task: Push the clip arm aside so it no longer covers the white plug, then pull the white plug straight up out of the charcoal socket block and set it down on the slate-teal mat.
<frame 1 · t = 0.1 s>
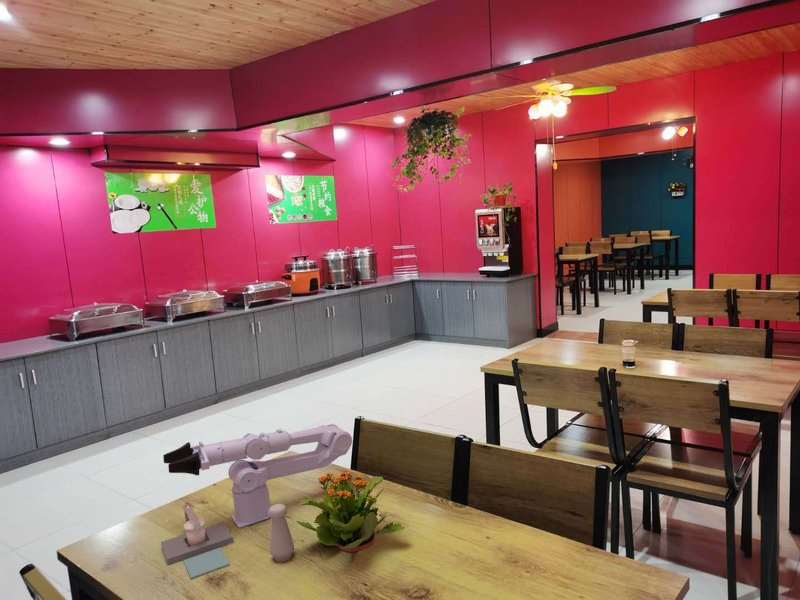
hand: (166, 463, 148), 22 cm above the table, tool horizontal, fingers open, 7 cm apart
clip post: (191, 532, 155), on the table
plug: (197, 545, 149), resting in socket block
salt shaker: (283, 557, 139), on the table
clip: (192, 515, 150), point 7 cm above the table, hinge at 0.0°
socket block: (197, 544, 149), on the table
potted flower: (356, 544, 143), on the table
mat: (206, 563, 140), on the table
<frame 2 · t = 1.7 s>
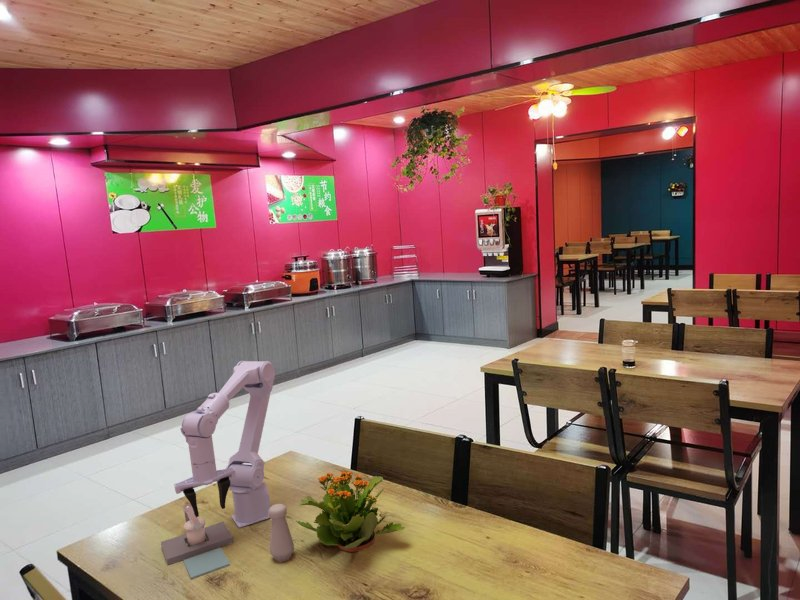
hand: (209, 511, 146), 9 cm above the table, tool pointing down, fingers open, 6 cm apart
nothing on the table moved.
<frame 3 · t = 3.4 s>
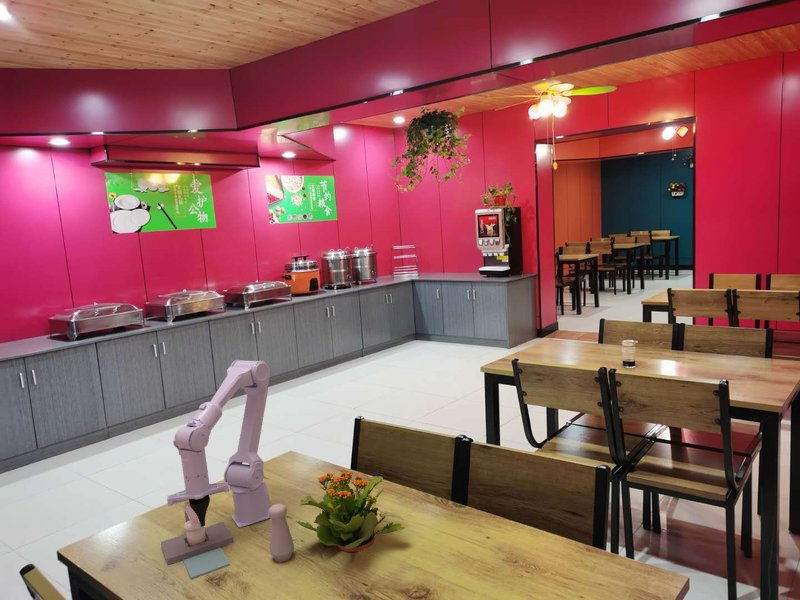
hand: (202, 524, 146), 6 cm above the table, tool pointing down, fingers closed
clip: (191, 515, 150), point 7 cm above the table, hinge at -0.7°, touching gripper
everything else where it was.
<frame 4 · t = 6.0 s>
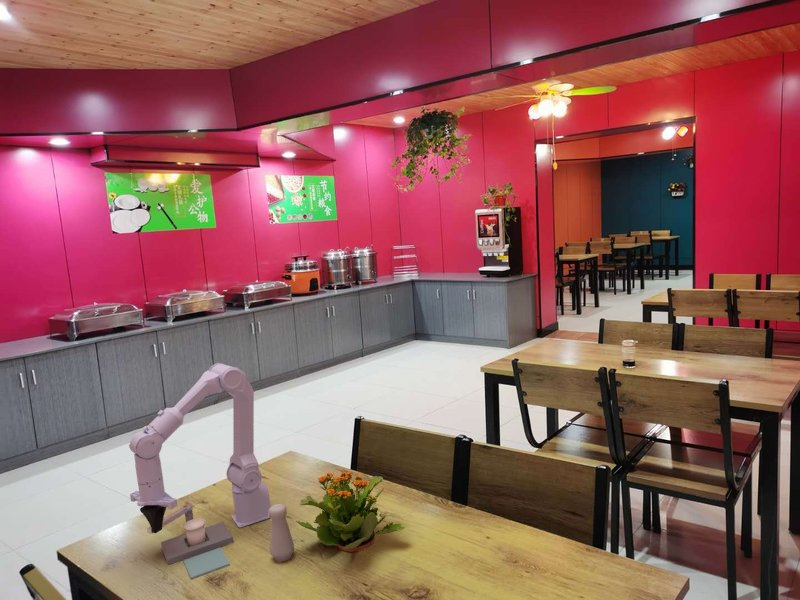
hand: (157, 531, 144), 6 cm above the table, tool pointing down, fingers closed
clip: (171, 517, 150), point 7 cm above the table, hinge at -57.2°, touching gripper
everything else where it was.
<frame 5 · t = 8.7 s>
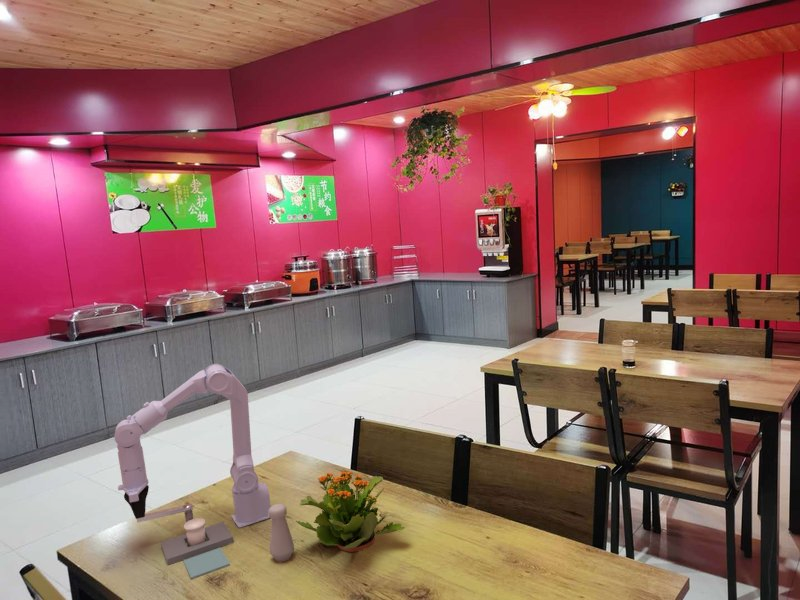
hand: (140, 516, 149), 8 cm above the table, tool pointing down, fingers closed
clip: (165, 512, 153), point 7 cm above the table, hinge at -101.0°
everything else where it was.
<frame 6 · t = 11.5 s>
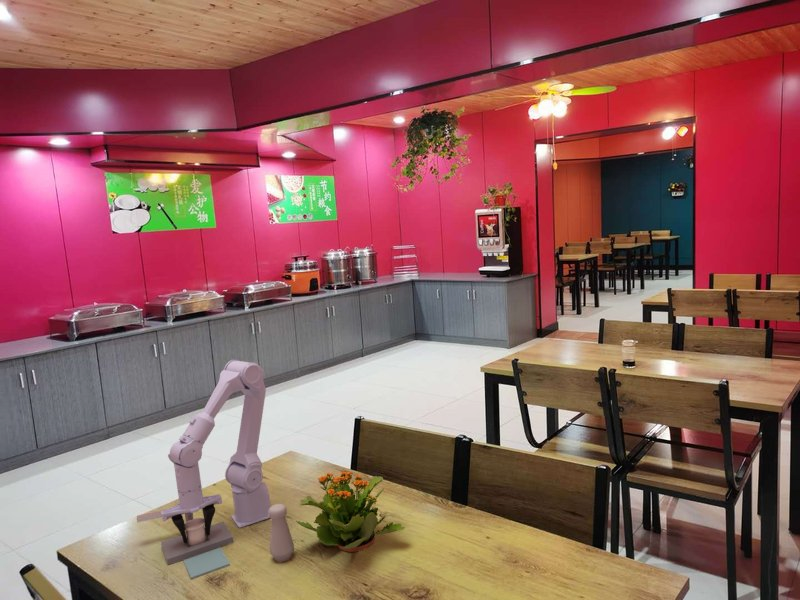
hand: (196, 537, 148), 2 cm above the table, tool pointing down, fingers closed on plug, 5 cm apart
plug: (197, 545, 149), resting in socket block, touching gripper
everything else where it was.
when the fingers open (3 cm above the table, at t = 15.5 s): plug stays where it is, resting on mat.
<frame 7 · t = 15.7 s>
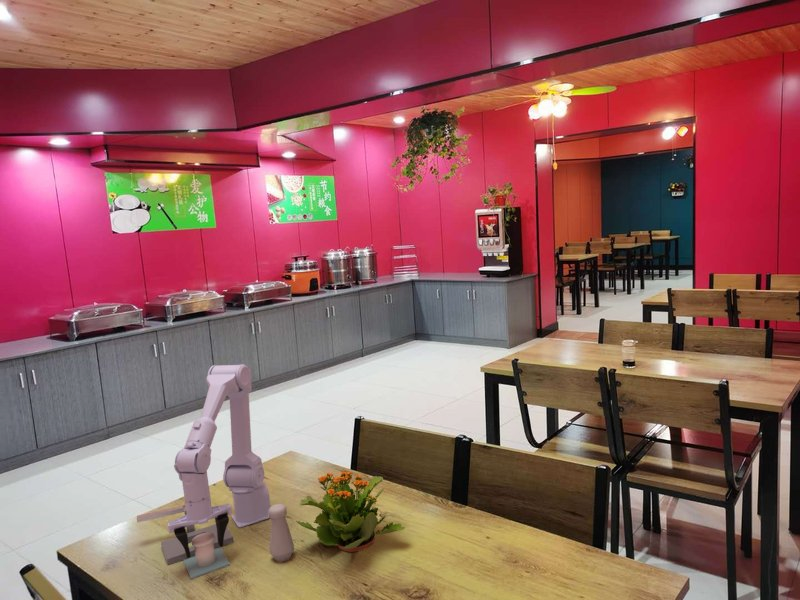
hand: (204, 550, 139), 3 cm above the table, tool pointing down, fingers open, 7 cm apart
plug: (206, 561, 140), resting on mat
everything else where it was.
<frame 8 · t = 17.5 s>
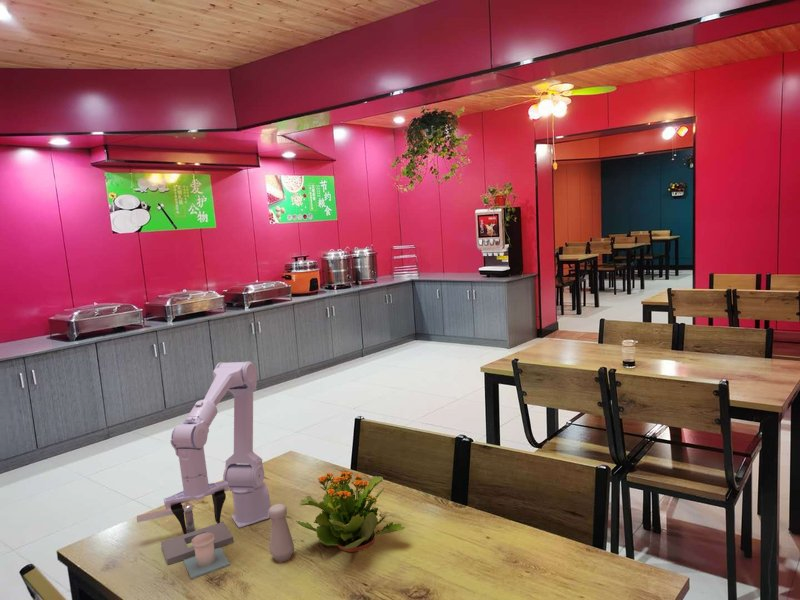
hand: (201, 526, 138), 9 cm above the table, tool pointing down, fingers open, 7 cm apart
nothing on the table moved.
at the end: clip at -101° (first picture: +0°); plug inside the target area on the mat (0.2 cm from its centre), point 0.4 cm above the mat's base; plug tilted 0° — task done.
